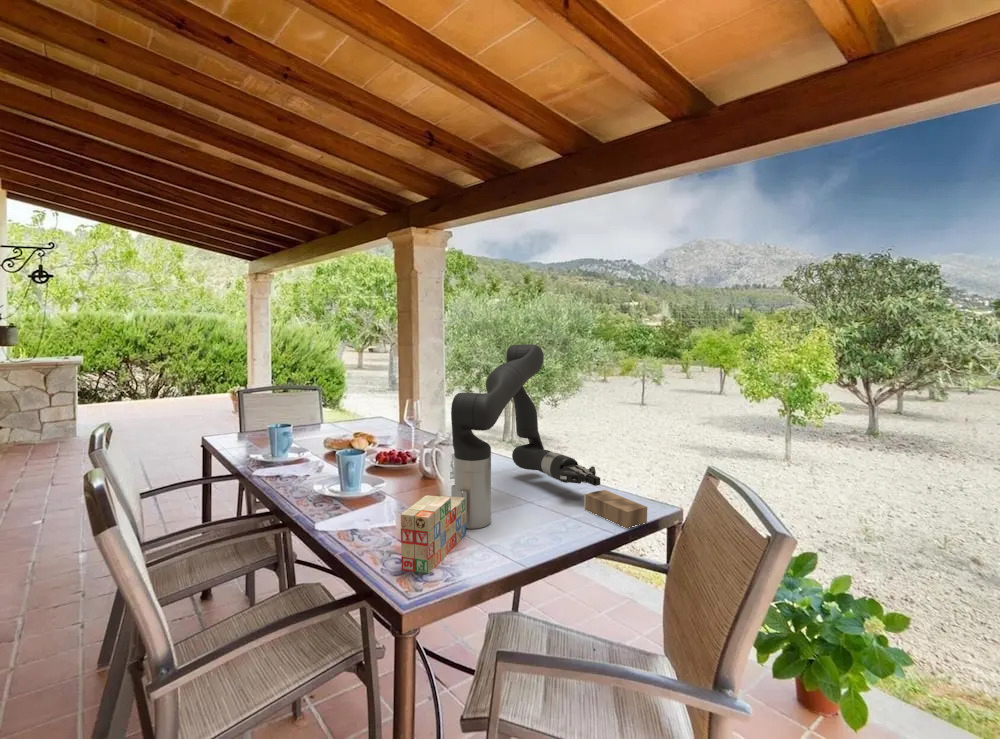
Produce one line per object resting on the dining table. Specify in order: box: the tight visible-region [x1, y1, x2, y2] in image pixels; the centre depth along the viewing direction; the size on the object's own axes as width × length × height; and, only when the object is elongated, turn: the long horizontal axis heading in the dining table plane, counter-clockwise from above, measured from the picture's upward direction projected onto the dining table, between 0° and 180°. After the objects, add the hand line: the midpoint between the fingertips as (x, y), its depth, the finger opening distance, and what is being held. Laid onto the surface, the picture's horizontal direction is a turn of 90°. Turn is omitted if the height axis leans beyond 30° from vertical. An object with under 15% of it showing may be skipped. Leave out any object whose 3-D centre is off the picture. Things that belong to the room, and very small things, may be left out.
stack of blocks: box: [400, 494, 467, 575], centre depth 121 cm, size 21×6×12 cm, turn 162°
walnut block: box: [584, 489, 648, 529], centre depth 142 cm, size 7×4×16 cm
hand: (598, 481), depth 147 cm, fingers closed
